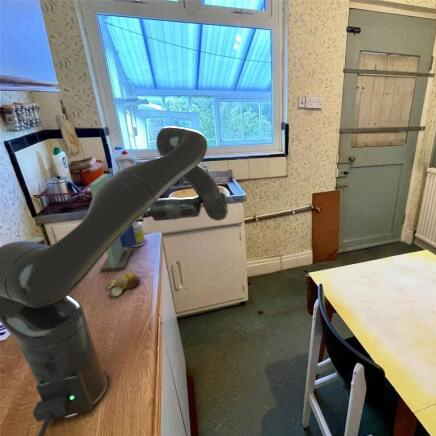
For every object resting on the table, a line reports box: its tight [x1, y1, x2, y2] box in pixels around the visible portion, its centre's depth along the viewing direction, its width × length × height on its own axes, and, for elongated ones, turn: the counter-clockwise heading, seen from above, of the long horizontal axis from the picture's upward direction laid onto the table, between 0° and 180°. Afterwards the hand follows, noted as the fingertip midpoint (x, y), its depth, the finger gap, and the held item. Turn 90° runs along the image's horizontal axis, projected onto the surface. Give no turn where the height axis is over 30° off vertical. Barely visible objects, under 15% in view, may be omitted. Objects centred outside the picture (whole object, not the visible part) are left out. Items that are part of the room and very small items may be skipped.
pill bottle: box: [131, 222, 146, 248], centre depth 111 cm, size 6×6×11 cm
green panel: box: [89, 173, 132, 273], centre depth 95 cm, size 11×12×30 cm
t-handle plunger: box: [120, 224, 137, 248], centre depth 95 cm, size 8×5×22 cm, turn 15°
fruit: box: [107, 272, 140, 297], centre depth 87 cm, size 8×8×4 cm
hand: (113, 212), depth 94 cm, fingers closed on t-handle plunger, 4 cm apart
